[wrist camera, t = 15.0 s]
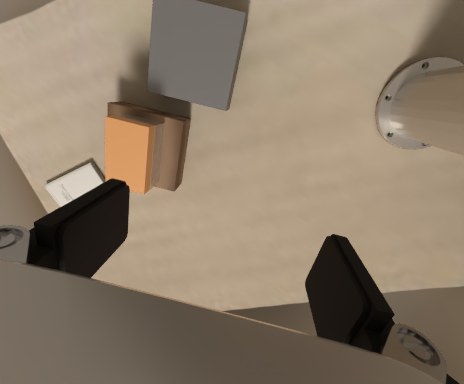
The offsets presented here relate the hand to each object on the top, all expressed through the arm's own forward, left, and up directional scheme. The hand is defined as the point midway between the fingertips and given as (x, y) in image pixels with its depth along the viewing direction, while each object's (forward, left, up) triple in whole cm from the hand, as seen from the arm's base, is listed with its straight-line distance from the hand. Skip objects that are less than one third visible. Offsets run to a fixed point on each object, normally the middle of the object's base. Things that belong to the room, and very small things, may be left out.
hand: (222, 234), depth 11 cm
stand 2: (+10, -9, -30) cm, 33 cm away
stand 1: (+16, +6, -30) cm, 35 cm away
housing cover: (+16, +6, -23) cm, 28 cm away
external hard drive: (+30, +19, -31) cm, 47 cm away
